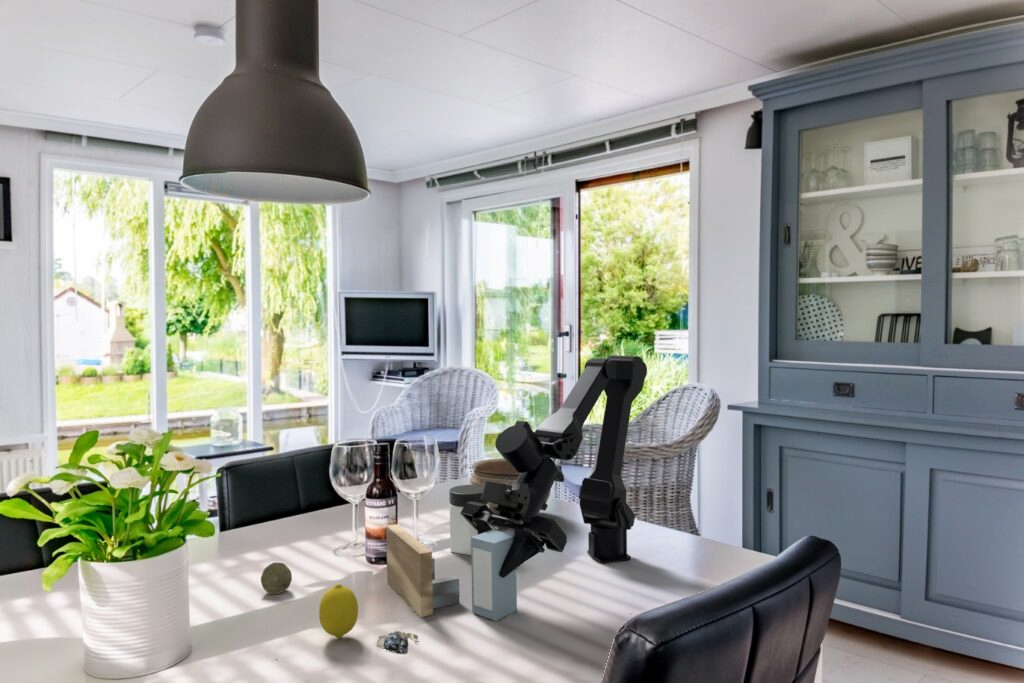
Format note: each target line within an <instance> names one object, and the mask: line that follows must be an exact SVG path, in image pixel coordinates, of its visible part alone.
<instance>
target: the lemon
mask: <svg viewBox="0 0 1024 683" xmlns="http://www.w3.org/2000/svg"><path fill="white" fill-rule="evenodd" d="M318 615H319V622H320V623H319V624H320V626H321V627H322V630H324V631H325V633H327V634H328V635H330V636H334V637H335V638H336V639H342V638H343V637H344V635H347V634H348V633H349V632H351V631H352V630H353V629H354V627H355V626H356V624H357V621H358V617H359V605H358V600H357V597H356V594H355V593H354V591H353V590H352V589H350V588H349V587H348V586H345V585H342V584H341V583H337V584H335V586H331V587H330V588H329V589H327V590H326V591H325V593H324V594H323V595H322V597H321V600H320V603H319V611H318Z"/></svg>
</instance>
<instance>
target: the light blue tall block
mask: <svg viewBox="0 0 1024 683" xmlns="http://www.w3.org/2000/svg"><path fill="white" fill-rule="evenodd" d="M513 541H514V534H512V533H507V532H504V531H499V530H498V531H496V530H490V531H487V532H484V533H481V534H479V535H476V536H473V537H471V555H470V557H471V560H470V564H471V607H472V608H471V610H472V611H471V613H474V614H475V615H478V616H481V617H484V618H487V619H488V620H492V621H495V622H496V621H498V620H502V619H503V618H504V617H507V616H509V615H510V614H513V613H514V612H517V610H518V598H517V596H518V594H517V592H518V591H517V590H518V589H517V585H518V584H517V568H516V569H515V570H513V571H512V572H511V573H510V574H508V575H507V576H506V577H504V578H501V577H500V576H499V572H500V569H501V566H502V564H503V562H504V560H505V558H506V556H507V554H508V552H509V550H510V548H511V546H512V544H513Z"/></svg>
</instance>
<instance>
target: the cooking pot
mask: <svg viewBox="0 0 1024 683" xmlns="http://www.w3.org/2000/svg"><path fill="white" fill-rule="evenodd" d="M471 469H472V470H473V472H472V474H471V477H470V480H469V481H470V482H469V484H468V485H482V486H485V482H486V480H487V481H493V482H498V483H503V484H508V483H510V482H512V483H514V481H517V479H518V477H519V475H520V473H518V472H516V471H514V470H513V469H512V467H511V466H510V465H509V464H508V463H507V461H506V460H505V459H504V458H503V457H498V458H490V459H485V460H479V461H477V462H475V463H472V465H471ZM551 490H552V488H551V489H550V491H549V493H548V495H547V497H546V499H545V503H546V504H547V503H548V502H547V501H548V500H549V497H550V496H551ZM493 505H494V503H492V502H489V507H490V510H491V511H492V512H493V513H494V514H496V515H499V513H500V512H499V511H496V510H495V509H494V508H493Z"/></svg>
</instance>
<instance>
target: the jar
mask: <svg viewBox="0 0 1024 683" xmlns="http://www.w3.org/2000/svg"><path fill="white" fill-rule="evenodd" d="M483 489H484V486H482V485H469V484H461V485H457V486H453V487H451V488H450V489H449V491H448V494H449V499H448V500H449V528H450V529H449V530H450V533H449V534H450V538H449V539H450V545H449V546H450V552H451V553H454V554H460V555H466V556H471V537H473V536H476V535H478V531H477V530H475V529H474V528H473V527H472V525H471V524H470V523H469V522H468V521H467V520H466V519H465V518H464V517H463V516H462V515H461V514H460V513H461V511H462V509H463V507H464V506H465V504H466V503H467V502H471V501H472V502H477V503H481V504H486V505H487V506H488V508H489V509H490V507H489V501H486V500H485V501H483V500H481V496H482V493H483Z"/></svg>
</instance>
